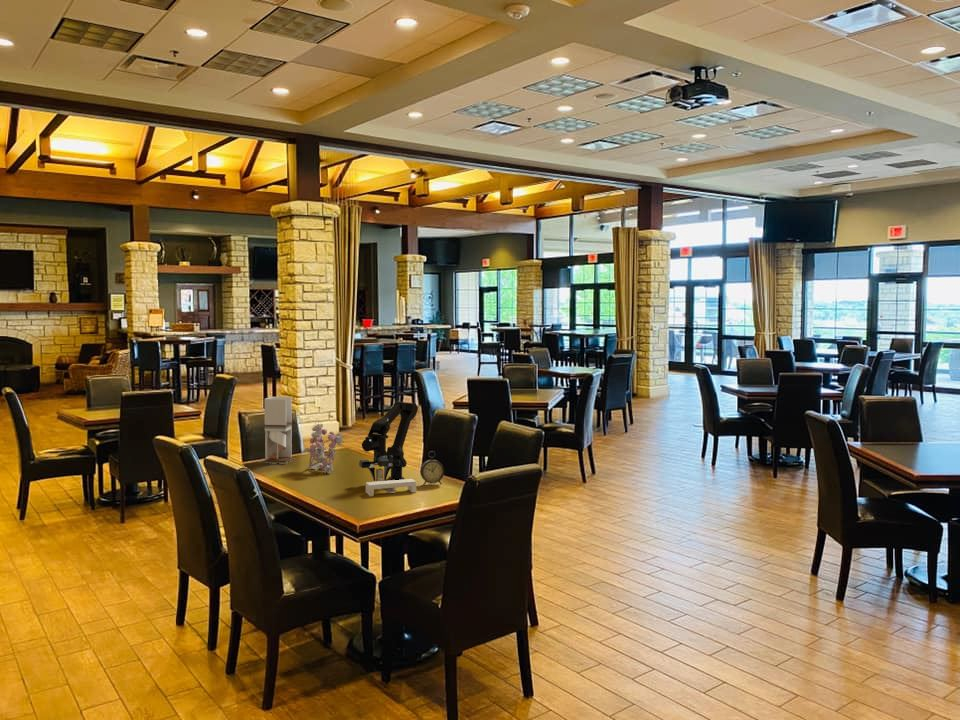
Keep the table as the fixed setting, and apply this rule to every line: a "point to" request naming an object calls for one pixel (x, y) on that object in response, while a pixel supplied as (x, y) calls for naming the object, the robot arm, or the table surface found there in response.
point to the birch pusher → (380, 476)
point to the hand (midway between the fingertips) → (379, 480)
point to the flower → (322, 448)
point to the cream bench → (390, 485)
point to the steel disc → (390, 491)
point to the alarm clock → (432, 471)
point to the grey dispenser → (278, 429)
